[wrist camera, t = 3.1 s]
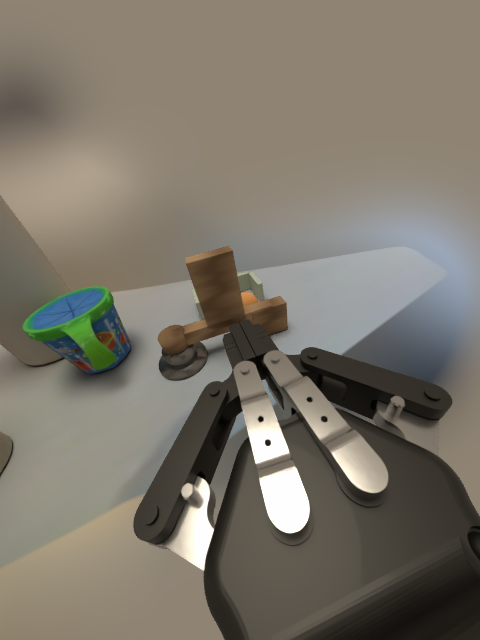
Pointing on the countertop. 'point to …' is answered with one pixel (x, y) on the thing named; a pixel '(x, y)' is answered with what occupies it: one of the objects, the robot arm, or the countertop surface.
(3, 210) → the cylinder vase
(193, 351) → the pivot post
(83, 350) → the snack cup
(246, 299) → the ball
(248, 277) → the sage green c-shaped clamp
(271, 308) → the lever
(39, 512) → the countertop surface
